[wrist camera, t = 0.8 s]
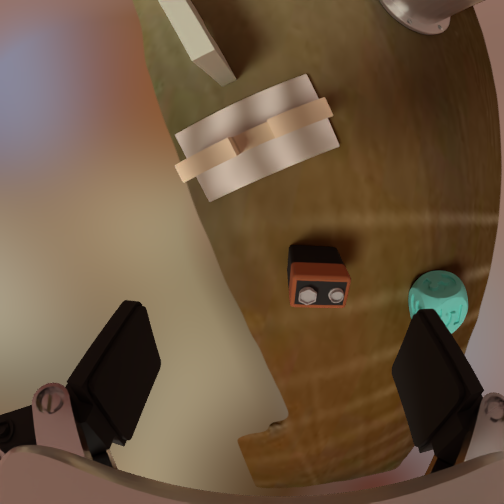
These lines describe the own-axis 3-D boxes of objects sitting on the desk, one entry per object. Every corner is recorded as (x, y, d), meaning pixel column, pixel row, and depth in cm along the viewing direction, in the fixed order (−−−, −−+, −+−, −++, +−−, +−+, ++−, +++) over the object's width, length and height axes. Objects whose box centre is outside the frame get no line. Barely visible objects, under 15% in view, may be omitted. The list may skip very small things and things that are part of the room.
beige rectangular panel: (187, -4, 25) (150, -52, 12) (236, 79, 30) (214, 49, 17) (175, 2, 25) (132, -42, 12) (222, 86, 30) (192, 61, 18)
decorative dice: (444, 303, 41) (463, 330, 34) (407, 315, 42) (424, 345, 35) (447, 265, 38) (471, 289, 31) (408, 277, 39) (429, 304, 32)
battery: (289, 243, 39) (293, 279, 30) (336, 246, 38) (354, 281, 29) (286, 271, 40) (289, 312, 31) (332, 273, 40) (347, 313, 31)
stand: (305, 75, 29) (315, 57, 21) (337, 145, 33) (358, 150, 24) (177, 134, 33) (149, 136, 25) (211, 200, 37) (193, 221, 28)
